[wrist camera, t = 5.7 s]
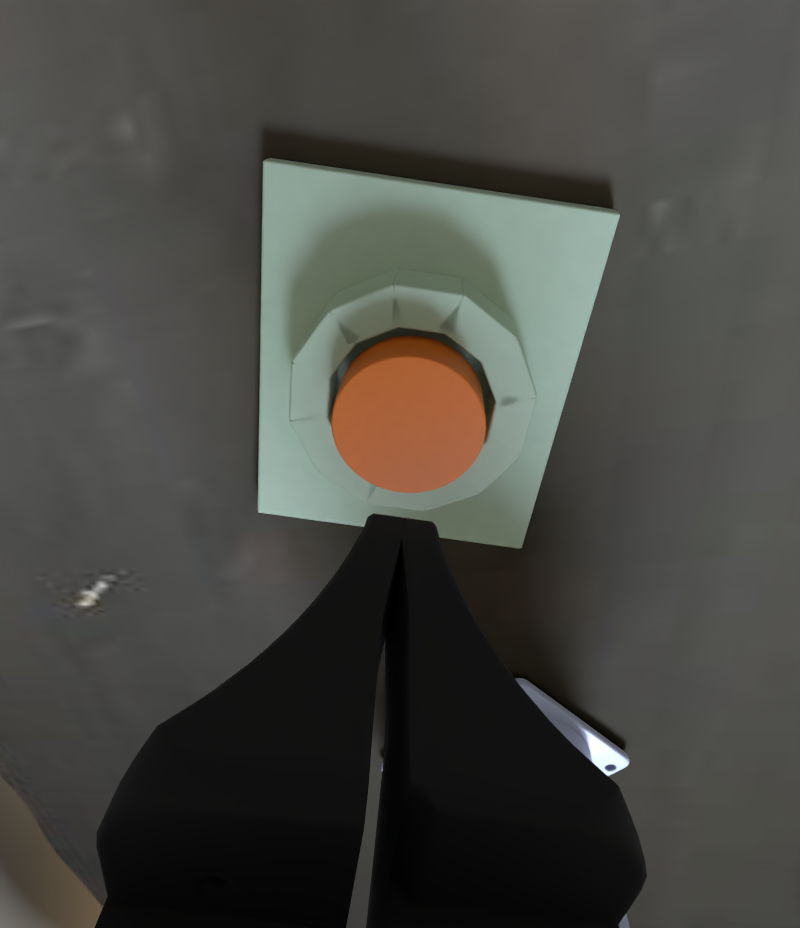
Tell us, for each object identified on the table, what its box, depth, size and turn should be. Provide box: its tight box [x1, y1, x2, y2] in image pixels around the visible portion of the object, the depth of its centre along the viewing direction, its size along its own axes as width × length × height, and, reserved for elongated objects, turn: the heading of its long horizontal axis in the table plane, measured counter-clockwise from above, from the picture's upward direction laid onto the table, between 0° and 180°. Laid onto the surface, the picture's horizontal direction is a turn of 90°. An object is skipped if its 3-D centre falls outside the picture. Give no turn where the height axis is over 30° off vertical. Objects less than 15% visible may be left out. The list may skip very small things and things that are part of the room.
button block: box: [258, 158, 620, 549], centre depth 20 cm, size 12×10×2 cm
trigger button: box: [331, 335, 486, 493], centre depth 18 cm, size 4×4×2 cm
